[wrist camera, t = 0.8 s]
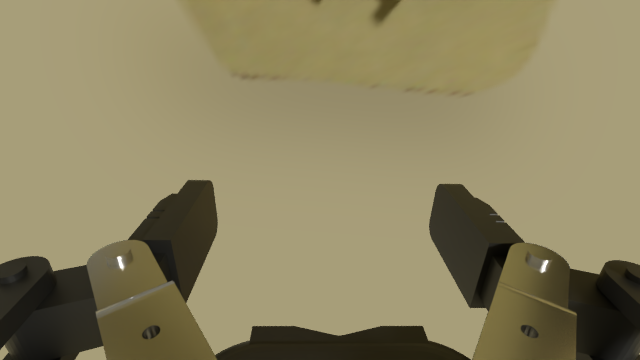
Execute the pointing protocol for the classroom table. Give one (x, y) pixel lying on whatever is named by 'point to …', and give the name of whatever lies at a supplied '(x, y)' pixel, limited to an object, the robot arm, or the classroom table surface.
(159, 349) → the robot arm
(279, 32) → the classroom table surface
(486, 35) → the classroom table surface
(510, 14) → the classroom table surface
